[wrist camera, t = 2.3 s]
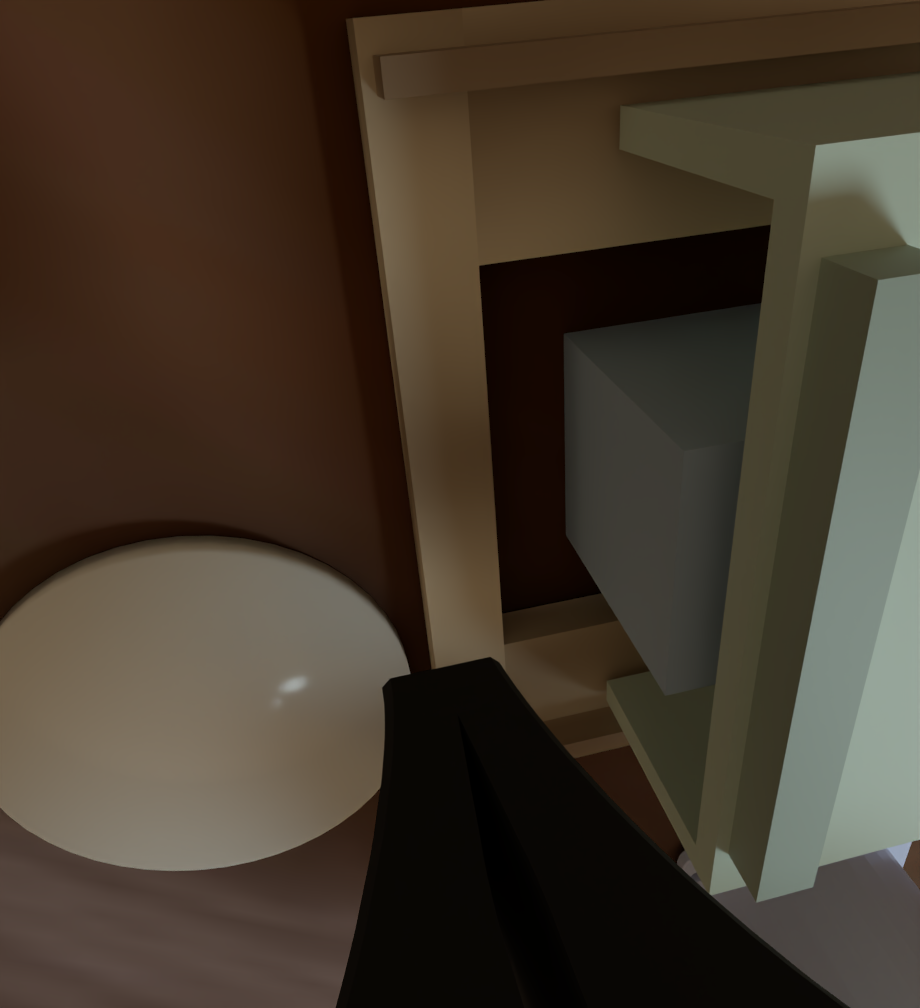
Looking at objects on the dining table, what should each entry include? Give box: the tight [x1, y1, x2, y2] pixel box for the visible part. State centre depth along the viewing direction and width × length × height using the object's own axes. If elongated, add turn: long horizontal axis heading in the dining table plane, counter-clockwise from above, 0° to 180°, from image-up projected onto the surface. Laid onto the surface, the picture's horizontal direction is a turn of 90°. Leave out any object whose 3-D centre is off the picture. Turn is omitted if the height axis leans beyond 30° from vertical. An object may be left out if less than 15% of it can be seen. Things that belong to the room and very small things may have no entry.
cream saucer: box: [0, 535, 410, 871], centre depth 17 cm, size 9×9×1 cm
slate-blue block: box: [564, 303, 761, 696], centre depth 14 cm, size 4×4×5 cm
